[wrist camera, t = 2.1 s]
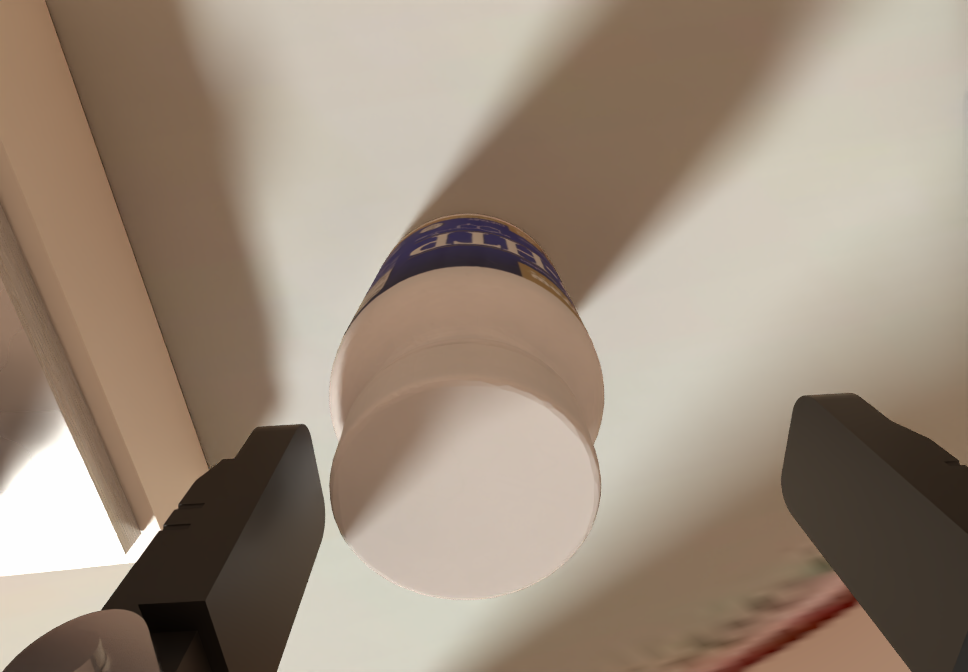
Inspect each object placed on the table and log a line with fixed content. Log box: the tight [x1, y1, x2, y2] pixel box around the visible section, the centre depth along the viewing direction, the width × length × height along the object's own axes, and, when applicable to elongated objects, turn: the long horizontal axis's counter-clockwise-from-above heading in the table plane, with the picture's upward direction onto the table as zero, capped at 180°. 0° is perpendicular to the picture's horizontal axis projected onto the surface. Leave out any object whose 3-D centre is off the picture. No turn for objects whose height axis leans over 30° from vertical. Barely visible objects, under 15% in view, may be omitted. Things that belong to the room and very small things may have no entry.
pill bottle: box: [329, 214, 604, 600], centre depth 12 cm, size 5×5×9 cm
